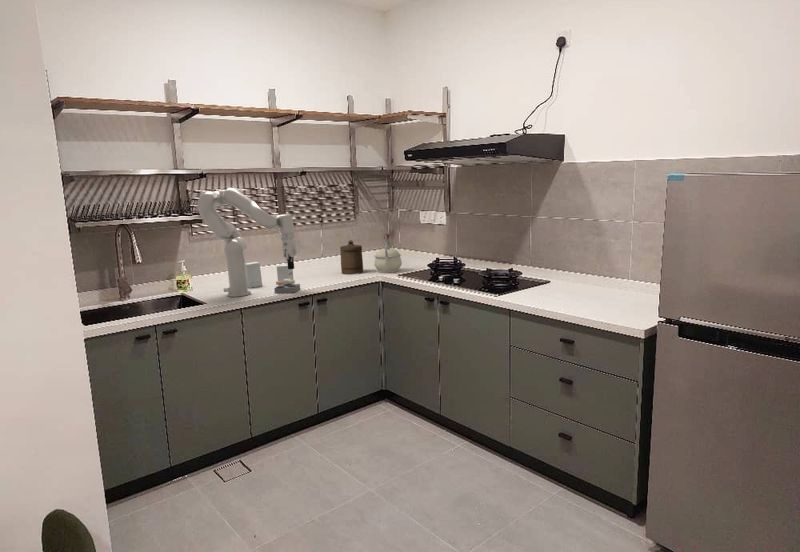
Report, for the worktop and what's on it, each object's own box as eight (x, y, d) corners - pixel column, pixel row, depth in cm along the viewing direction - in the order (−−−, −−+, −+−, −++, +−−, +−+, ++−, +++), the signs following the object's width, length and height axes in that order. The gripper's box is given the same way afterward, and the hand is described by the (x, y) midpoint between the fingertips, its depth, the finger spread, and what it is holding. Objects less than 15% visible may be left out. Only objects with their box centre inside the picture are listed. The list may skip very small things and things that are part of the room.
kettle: (376, 269, 364) (374, 233, 360) (402, 268, 363) (400, 232, 359) (373, 275, 340) (370, 237, 336) (401, 274, 339) (399, 235, 335)
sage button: (286, 284, 294) (286, 281, 293) (289, 282, 298) (288, 279, 297) (293, 283, 293) (293, 280, 293) (295, 282, 297) (295, 279, 297)
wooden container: (365, 270, 363) (363, 239, 359) (360, 274, 348) (358, 241, 345) (344, 271, 365) (342, 239, 361) (339, 274, 350) (336, 242, 347)
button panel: (274, 293, 293) (274, 287, 292) (281, 289, 304) (281, 283, 304) (293, 293, 291) (293, 287, 291) (300, 288, 303) (299, 283, 303)
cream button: (282, 282, 299) (282, 279, 299) (285, 281, 303) (284, 278, 303) (289, 282, 299) (289, 279, 298) (291, 281, 302) (291, 278, 302)
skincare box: (260, 285, 324) (257, 261, 321) (262, 286, 319) (260, 262, 316) (246, 287, 320) (244, 263, 317) (248, 288, 315) (246, 263, 312)
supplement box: (289, 286, 313) (287, 265, 311) (278, 287, 314) (276, 266, 312) (294, 284, 320) (292, 264, 318) (283, 284, 321) (281, 264, 319)
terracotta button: (275, 284, 292) (274, 282, 292) (277, 283, 296) (277, 280, 296) (282, 284, 292) (281, 281, 292) (284, 283, 296) (284, 280, 296)
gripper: (289, 237, 283) (293, 270, 286) (298, 234, 298) (301, 266, 301) (276, 238, 284) (280, 271, 287) (285, 235, 299) (289, 267, 302)
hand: (291, 268), depth 294 cm, fingers closed
